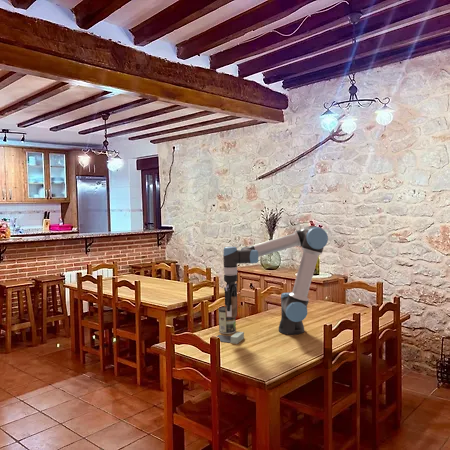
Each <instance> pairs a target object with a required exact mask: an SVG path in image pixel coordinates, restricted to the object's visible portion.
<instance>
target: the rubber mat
mask: <svg viewBox="0 0 450 450" xmlns="http://www.w3.org/2000/svg"><path fill="white" fill-rule="evenodd" d="M231 336H232V335H227V334H218V335H217V336H216V337H219V338H220V341H221V342H220V343H228V344H231Z"/></svg>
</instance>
